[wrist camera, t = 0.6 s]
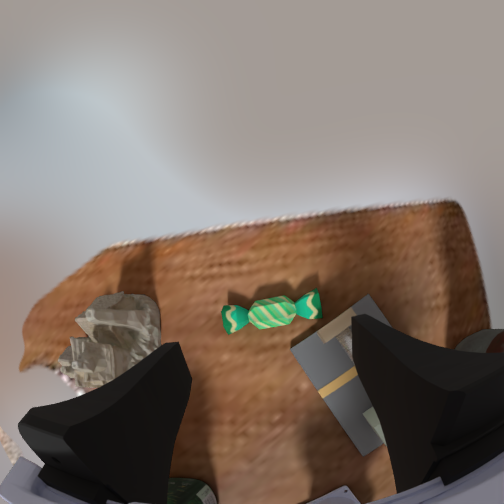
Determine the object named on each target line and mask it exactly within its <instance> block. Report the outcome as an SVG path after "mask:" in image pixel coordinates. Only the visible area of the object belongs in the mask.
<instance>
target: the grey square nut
mask: <svg viewBox="0 0 504 504" xmlns="http://www.w3.org/2000/svg"><path fill="white" fill-rule="evenodd" d="M363 415H364V417H365V418H366V420H367V421H368V423H369V424H370V426H371V427H372V429H373V430H374V432H375V433H376V434H377V435H378V437H379V438H380V439H381V440H382V442H383V443H384V444H385V445H386V441H385V438H384V434H383V431H382V428H381V425H380V421H379V419H378V417H377V414H376V412H375V410H374V408H373V406H372V407H371V408H370V409H368V410H367V411H365V412H364V413H363ZM386 446H387V445H386Z"/></svg>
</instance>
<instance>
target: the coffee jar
mask: <svg viewBox="0 0 504 504" xmlns="http://www.w3.org/2000/svg"><path fill="white" fill-rule="evenodd" d="M167 504H217V501H216V497H215V495H214V493H213V491H212V490H211V488H210V487H209V486H208V485H207V484H206V483H204V482H203V481H201V480H197V479H190V478H169V483H168V495H167Z"/></svg>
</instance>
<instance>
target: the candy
mask: <svg viewBox="0 0 504 504" xmlns="http://www.w3.org/2000/svg"><path fill="white" fill-rule="evenodd" d="M221 313H222V319H223V326H224V328H225V330H226V332H227V333H228V335H229V334H231V333H233V332H235V331H237V330H239V329H241V328H242V327H244V326H245V325H246V324H248V323H249V322H251V323H252V324H254V325H255V326H256V327H257V328H259V329H264V328H270V327H276V326H281V325H287V324H290V323H291V321H292V320H293V318H294V317H295V315H296V314H297V315H300V316H302V317H305V318H307V319H318V318H323V317H322V308H321V302H320V297H319V293H318V290H317V288H316V289H314V290H312V291H310V292H309V293H307V294H305V295H304V296H302V297H301V298H300V299H299V300H297V301H296V302H293V301H292V300H290V299H289V298H288V297H286V296H285V295H284V296H279V297H274V298H268V299H263V300H258V301H255V302H254V304H253V305H252V307H251V308H250V310H247V309H245V308H242V307H240V306H238V305H225V306H223V309H222V311H221Z"/></svg>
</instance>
